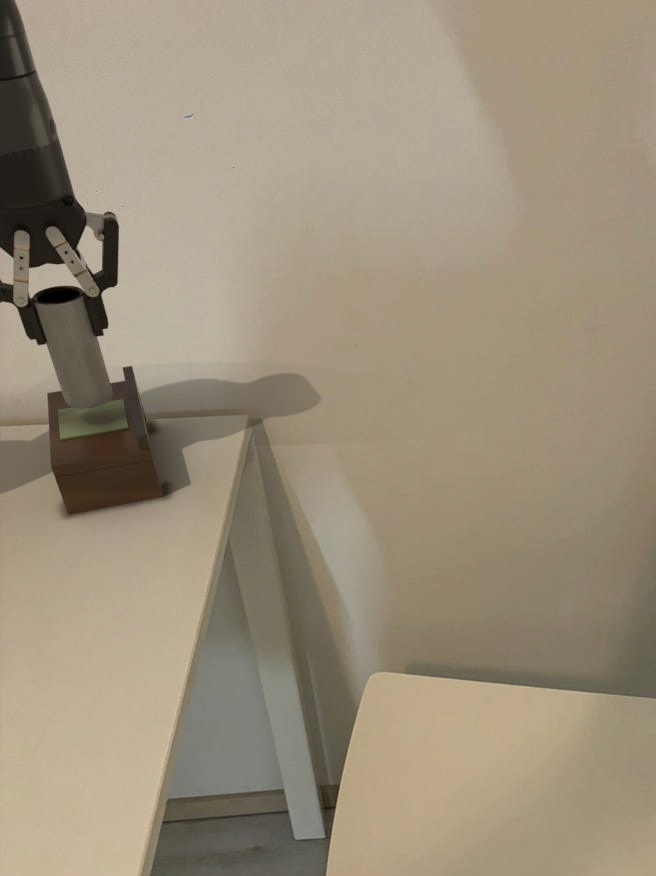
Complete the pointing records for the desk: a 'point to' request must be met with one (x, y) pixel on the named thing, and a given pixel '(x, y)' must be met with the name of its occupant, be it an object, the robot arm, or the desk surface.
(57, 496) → the desk surface
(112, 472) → the brown wooden box
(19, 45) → the robot arm
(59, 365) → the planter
